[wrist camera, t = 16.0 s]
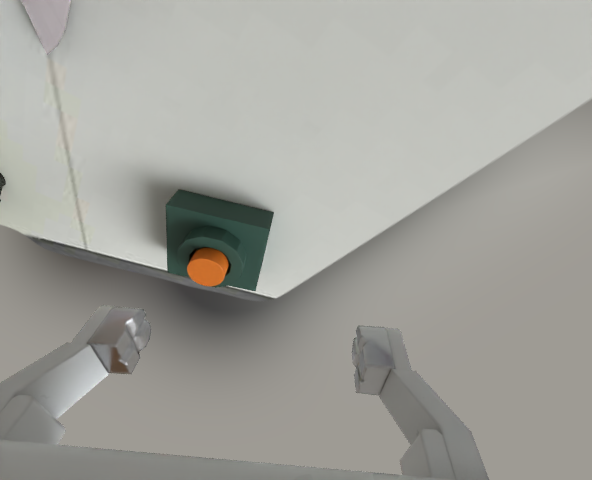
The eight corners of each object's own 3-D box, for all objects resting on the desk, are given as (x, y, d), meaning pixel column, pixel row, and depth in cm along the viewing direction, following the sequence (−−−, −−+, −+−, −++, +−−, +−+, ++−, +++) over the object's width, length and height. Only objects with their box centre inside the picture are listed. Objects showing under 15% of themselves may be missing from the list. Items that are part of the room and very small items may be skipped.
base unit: (178, 254, 35) (160, 283, 31) (178, 189, 30) (157, 214, 26) (259, 272, 36) (252, 303, 32) (273, 212, 31) (267, 240, 27)
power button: (192, 270, 30) (186, 282, 29) (193, 243, 28) (187, 255, 27) (227, 277, 31) (222, 289, 29) (230, 251, 29) (226, 263, 27)
